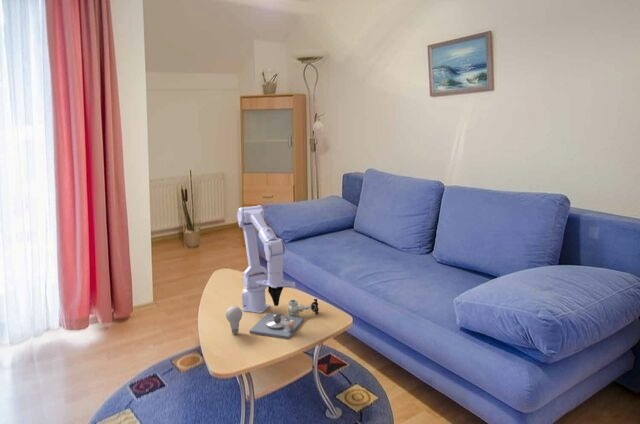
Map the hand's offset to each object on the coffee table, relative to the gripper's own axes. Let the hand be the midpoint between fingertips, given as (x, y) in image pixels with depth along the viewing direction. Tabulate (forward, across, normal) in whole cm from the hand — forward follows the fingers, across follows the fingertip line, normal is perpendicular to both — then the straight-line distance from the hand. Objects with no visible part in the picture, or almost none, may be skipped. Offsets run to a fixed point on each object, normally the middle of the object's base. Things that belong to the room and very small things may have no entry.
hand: (276, 304), depth 173 cm
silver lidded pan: (+8, +1, 0) cm, 9 cm away
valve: (+10, +8, +12) cm, 18 cm away
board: (+10, 0, +1) cm, 10 cm away
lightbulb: (+10, -15, -6) cm, 19 cm away
